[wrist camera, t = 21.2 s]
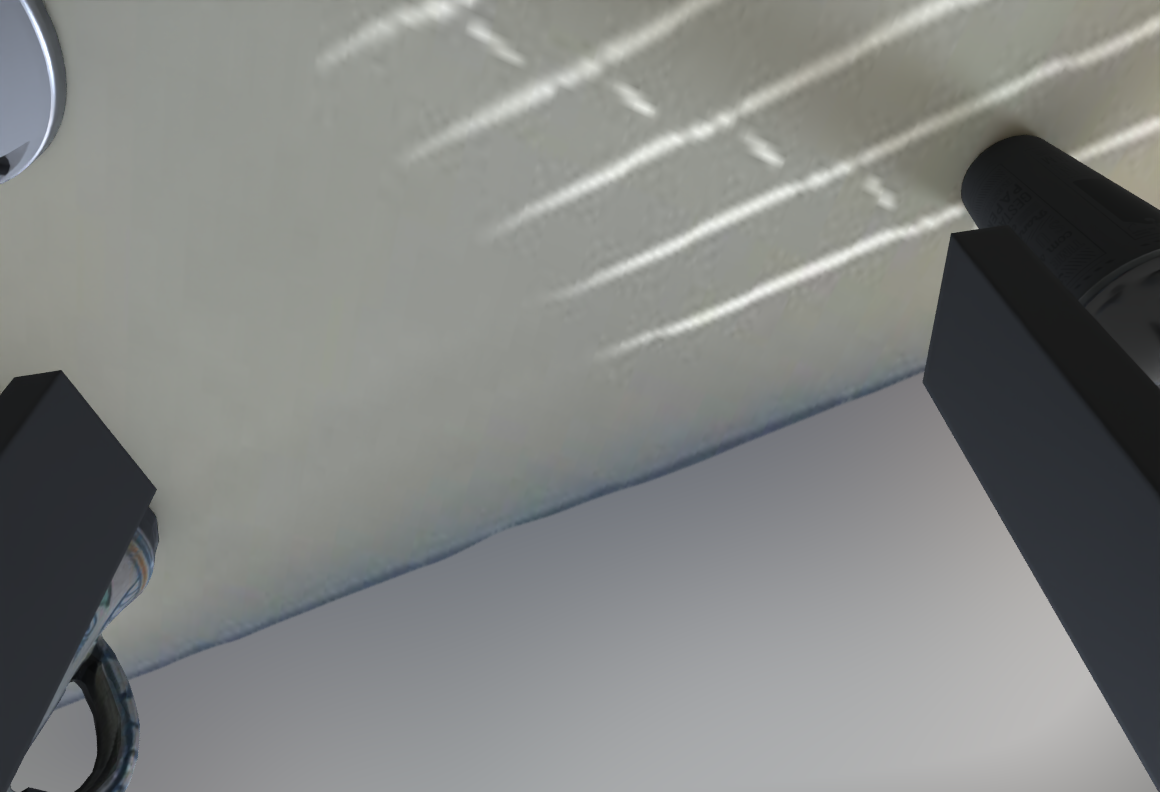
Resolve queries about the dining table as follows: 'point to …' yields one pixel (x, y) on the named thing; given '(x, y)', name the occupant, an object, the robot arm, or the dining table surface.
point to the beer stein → (111, 671)
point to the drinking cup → (1078, 235)
